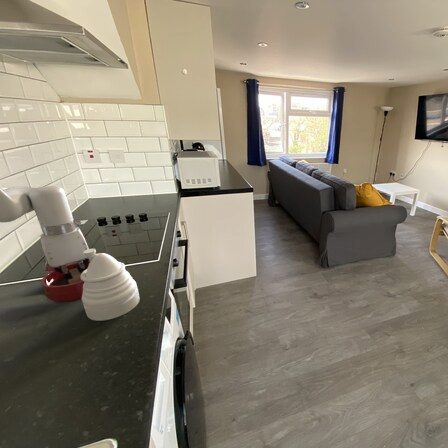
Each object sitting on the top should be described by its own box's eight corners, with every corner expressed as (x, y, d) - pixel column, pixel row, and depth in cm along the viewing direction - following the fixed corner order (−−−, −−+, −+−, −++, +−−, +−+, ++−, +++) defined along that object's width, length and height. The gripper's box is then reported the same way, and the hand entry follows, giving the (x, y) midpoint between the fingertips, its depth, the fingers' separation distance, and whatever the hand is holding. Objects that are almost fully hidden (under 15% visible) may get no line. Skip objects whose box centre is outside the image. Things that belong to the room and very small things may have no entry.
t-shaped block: (65, 280, 85) (62, 271, 84) (84, 274, 89) (81, 265, 87) (73, 294, 78) (70, 285, 77) (93, 286, 82) (91, 278, 81)
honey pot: (80, 326, 68) (59, 265, 61) (92, 298, 78) (75, 244, 72) (138, 312, 73) (123, 255, 66) (141, 287, 84) (129, 236, 77)
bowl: (34, 305, 75) (27, 289, 73) (66, 277, 89) (61, 262, 87) (94, 299, 78) (89, 283, 76) (116, 272, 92) (112, 258, 90)
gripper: (88, 218, 86) (103, 267, 93) (20, 232, 75) (42, 286, 81) (95, 223, 82) (109, 274, 88) (23, 239, 70) (46, 296, 77)
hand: (77, 279), depth 85 cm, fingers closed on t-shaped block, 2 cm apart
